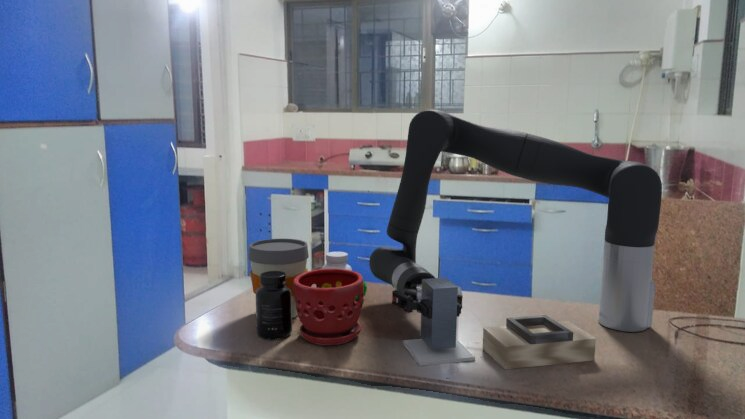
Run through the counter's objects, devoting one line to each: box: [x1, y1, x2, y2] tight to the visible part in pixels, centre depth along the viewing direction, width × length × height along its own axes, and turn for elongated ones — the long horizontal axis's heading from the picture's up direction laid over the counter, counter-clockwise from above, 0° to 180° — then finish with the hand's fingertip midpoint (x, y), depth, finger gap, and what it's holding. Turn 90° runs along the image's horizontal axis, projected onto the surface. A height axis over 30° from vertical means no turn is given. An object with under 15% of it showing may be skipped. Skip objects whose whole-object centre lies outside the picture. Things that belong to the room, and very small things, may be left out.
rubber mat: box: [402, 338, 476, 366], centre depth 104 cm, size 10×10×1 cm
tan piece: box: [482, 314, 597, 370], centre depth 102 cm, size 17×9×6 cm, turn 104°
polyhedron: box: [355, 280, 368, 301], centre depth 133 cm, size 5×5×5 cm
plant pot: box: [293, 268, 364, 346], centre depth 109 cm, size 13×13×12 cm
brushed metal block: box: [420, 277, 459, 350], centre depth 102 cm, size 4×6×11 cm
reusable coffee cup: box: [248, 238, 309, 319], centre depth 122 cm, size 13×13×15 cm
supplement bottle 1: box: [255, 271, 293, 341], centre depth 110 cm, size 7×7×12 cm
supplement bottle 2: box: [321, 251, 353, 288], centre depth 123 cm, size 7×7×13 cm
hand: (444, 312), depth 100 cm, fingers closed on brushed metal block, 4 cm apart
